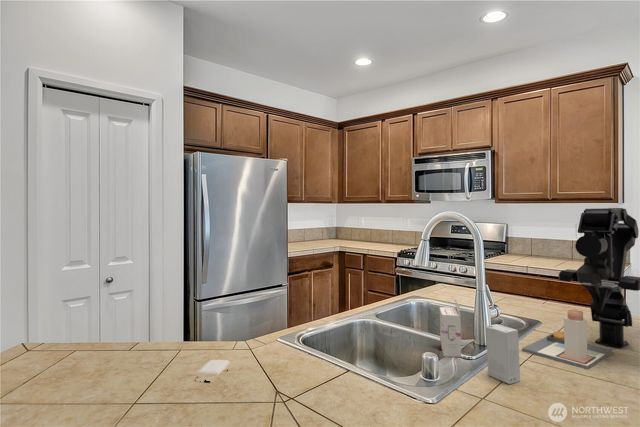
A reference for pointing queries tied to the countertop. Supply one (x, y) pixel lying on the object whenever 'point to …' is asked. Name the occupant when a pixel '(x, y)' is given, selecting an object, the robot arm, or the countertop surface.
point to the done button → (558, 335)
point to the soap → (214, 367)
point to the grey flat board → (556, 351)
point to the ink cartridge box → (450, 331)
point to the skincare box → (503, 353)
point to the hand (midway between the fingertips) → (599, 310)
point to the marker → (575, 335)
